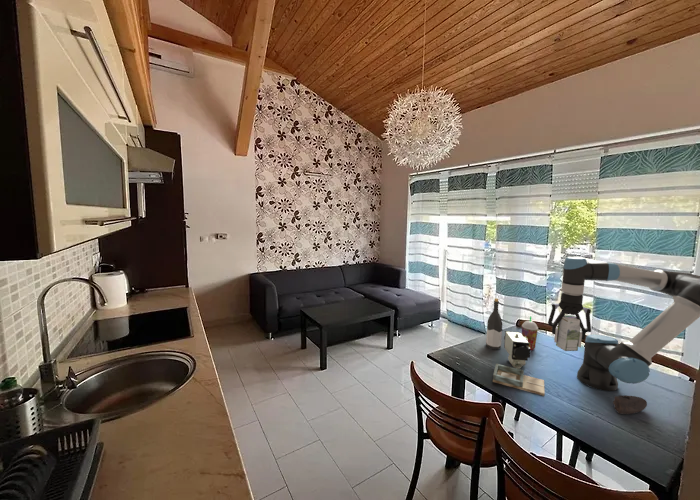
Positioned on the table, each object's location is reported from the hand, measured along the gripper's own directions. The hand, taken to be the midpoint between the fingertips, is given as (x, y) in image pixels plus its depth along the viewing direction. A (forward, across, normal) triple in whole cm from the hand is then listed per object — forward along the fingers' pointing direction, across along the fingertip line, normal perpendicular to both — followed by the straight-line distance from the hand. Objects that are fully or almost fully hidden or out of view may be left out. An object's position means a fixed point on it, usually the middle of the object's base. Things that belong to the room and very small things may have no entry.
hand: (567, 343), depth 130 cm
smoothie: (+25, +14, -44) cm, 52 cm away
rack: (+24, +17, -1) cm, 30 cm away
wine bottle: (+24, +32, -36) cm, 54 cm away
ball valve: (+24, +19, -18) cm, 36 cm away
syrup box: (+2, 0, 0) cm, 2 cm away
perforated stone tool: (+25, -23, -1) cm, 34 cm away
